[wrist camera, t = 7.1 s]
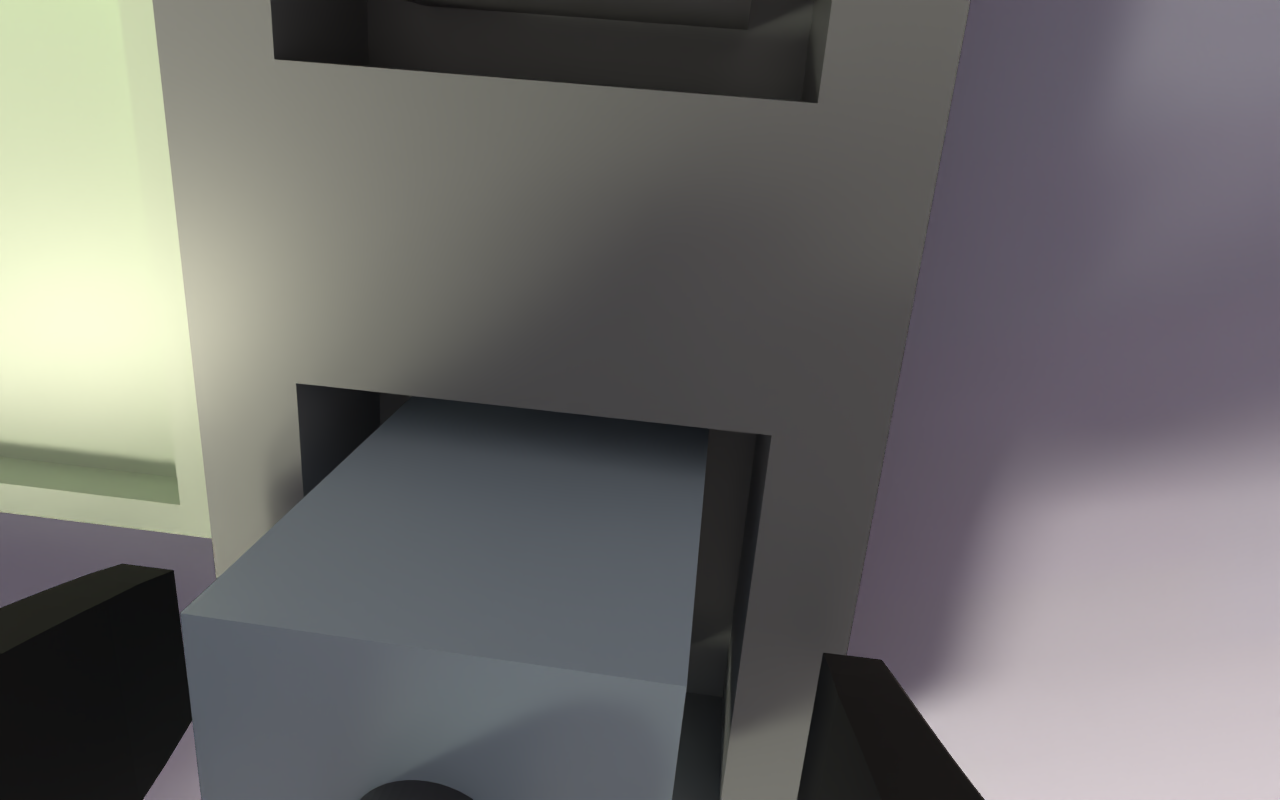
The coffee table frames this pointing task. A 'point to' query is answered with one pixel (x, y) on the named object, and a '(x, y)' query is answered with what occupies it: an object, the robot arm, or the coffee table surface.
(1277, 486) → the coffee table surface
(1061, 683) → the coffee table surface
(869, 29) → the power strip
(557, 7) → the twin plug
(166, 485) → the tray
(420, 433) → the plug
